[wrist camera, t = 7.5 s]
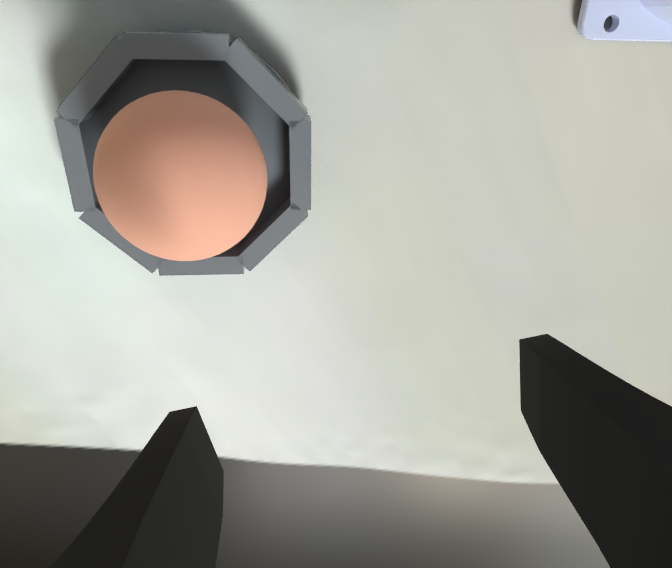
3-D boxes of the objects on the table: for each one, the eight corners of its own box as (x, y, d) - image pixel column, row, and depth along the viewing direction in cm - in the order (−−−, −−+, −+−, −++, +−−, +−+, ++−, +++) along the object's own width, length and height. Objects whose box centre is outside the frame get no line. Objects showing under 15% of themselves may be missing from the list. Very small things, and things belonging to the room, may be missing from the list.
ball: (260, 78, 17) (265, 105, 13) (268, 221, 20) (274, 285, 15) (100, 80, 16) (47, 108, 12) (128, 228, 19) (93, 296, 15)
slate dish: (310, 32, 17) (313, 35, 16) (309, 253, 21) (311, 273, 19) (56, 26, 17) (32, 28, 15) (102, 257, 20) (87, 278, 19)
